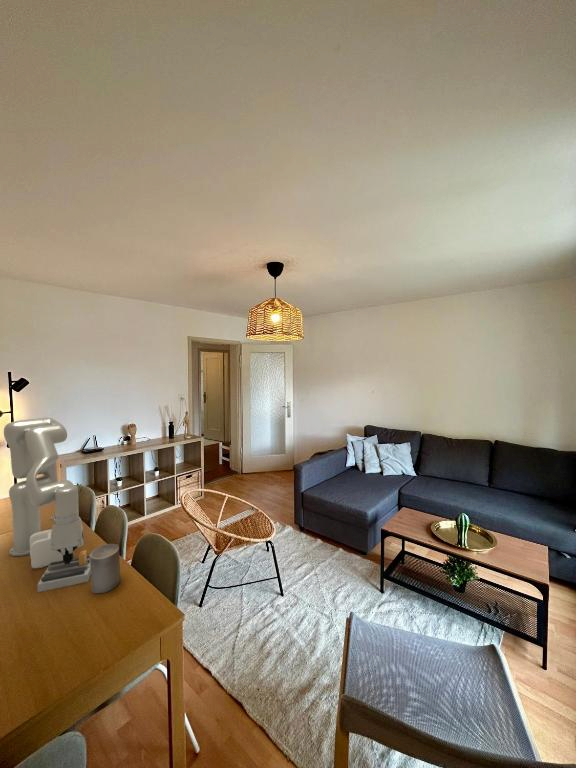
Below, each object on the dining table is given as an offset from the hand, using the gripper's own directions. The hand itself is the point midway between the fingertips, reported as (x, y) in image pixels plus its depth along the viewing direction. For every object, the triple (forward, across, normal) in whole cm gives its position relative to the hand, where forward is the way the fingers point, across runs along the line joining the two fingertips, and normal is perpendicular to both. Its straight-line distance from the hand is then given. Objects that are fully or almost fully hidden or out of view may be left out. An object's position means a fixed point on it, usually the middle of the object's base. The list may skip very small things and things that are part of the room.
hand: (68, 562), depth 122 cm
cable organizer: (+6, -10, +16) cm, 20 cm away
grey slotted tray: (+6, 0, 0) cm, 6 cm away
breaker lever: (+3, +5, 0) cm, 6 cm away
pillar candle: (+6, +15, -11) cm, 19 cm away
